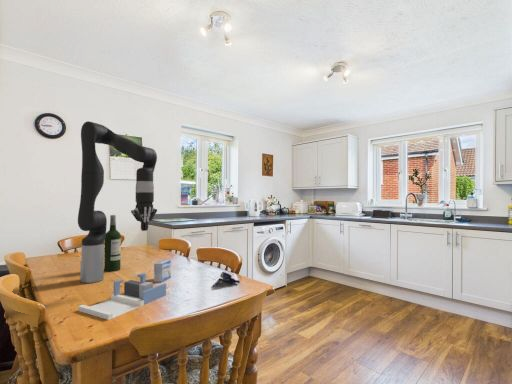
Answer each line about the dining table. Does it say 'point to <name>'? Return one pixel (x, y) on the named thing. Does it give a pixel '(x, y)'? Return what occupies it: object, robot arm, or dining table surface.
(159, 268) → the medicine box
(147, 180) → the robot arm
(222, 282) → the black clip
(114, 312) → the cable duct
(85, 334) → the dining table surface
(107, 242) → the wine bottle
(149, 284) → the grey rectangular blocks
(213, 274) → the dining table surface
